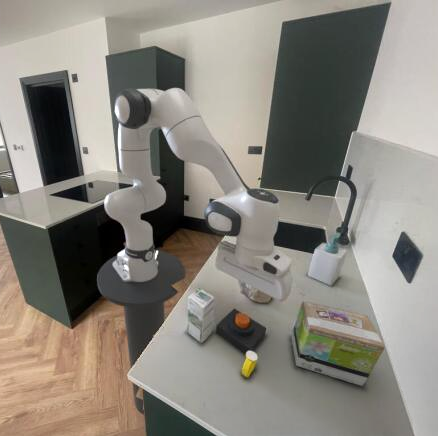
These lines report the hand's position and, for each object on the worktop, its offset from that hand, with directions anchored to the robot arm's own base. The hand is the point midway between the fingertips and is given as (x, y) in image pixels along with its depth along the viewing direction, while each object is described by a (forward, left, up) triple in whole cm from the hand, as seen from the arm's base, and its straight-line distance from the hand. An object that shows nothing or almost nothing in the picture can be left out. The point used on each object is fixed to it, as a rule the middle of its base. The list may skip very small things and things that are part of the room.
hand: (246, 294), depth 65 cm
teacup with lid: (-4, +19, -16) cm, 25 cm away
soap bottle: (+9, +50, -16) cm, 53 cm away
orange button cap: (0, 0, -11) cm, 11 cm away
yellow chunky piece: (+7, -9, -16) cm, 20 cm away
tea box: (+20, +9, -16) cm, 27 cm away
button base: (0, 0, -16) cm, 16 cm away
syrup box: (-9, -9, -16) cm, 20 cm away
